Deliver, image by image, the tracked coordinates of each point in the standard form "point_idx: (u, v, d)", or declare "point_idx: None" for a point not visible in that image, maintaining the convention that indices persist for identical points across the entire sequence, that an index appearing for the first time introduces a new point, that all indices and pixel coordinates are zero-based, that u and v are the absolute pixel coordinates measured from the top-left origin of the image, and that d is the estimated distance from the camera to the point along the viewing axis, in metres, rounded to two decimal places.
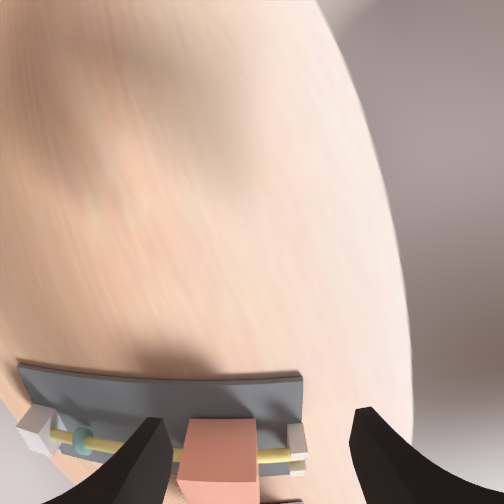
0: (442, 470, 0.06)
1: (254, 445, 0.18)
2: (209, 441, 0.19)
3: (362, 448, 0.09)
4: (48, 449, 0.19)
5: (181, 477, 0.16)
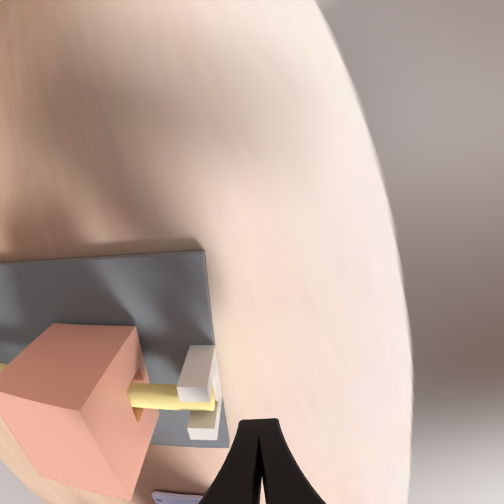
0: (318, 501, 0.06)
1: (111, 358, 0.11)
2: (56, 348, 0.11)
3: (261, 460, 0.09)
4: None
5: None
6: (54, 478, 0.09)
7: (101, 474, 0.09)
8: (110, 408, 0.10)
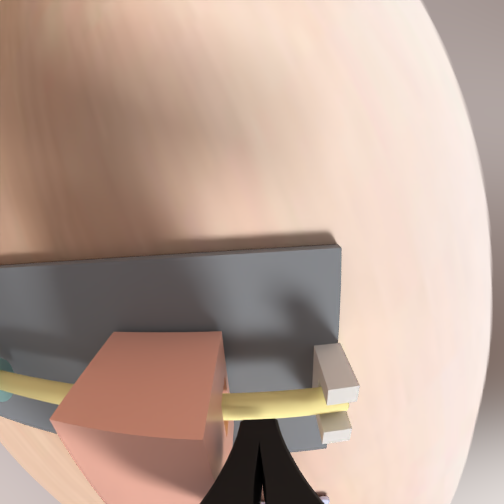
0: (317, 501, 0.06)
1: (212, 370, 0.10)
2: (131, 362, 0.11)
3: (260, 460, 0.09)
4: None
5: (59, 416, 0.07)
6: None
7: None
8: (215, 427, 0.09)
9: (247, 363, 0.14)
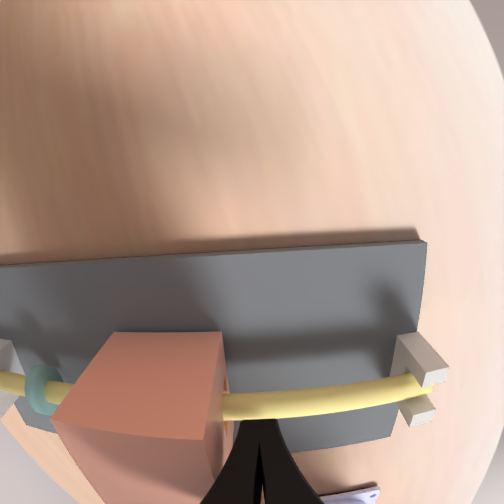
0: (317, 501, 0.06)
1: (212, 370, 0.10)
2: (132, 362, 0.11)
3: (260, 460, 0.09)
4: None
5: (59, 416, 0.07)
6: None
7: None
8: (216, 428, 0.09)
9: (336, 356, 0.14)
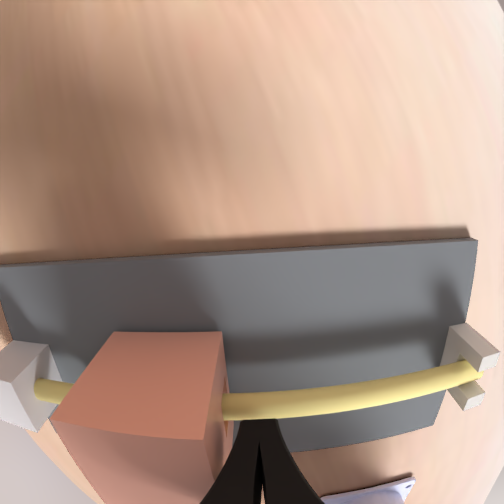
0: (317, 501, 0.06)
1: (212, 370, 0.10)
2: (132, 362, 0.11)
3: (260, 460, 0.09)
4: (29, 416, 0.11)
5: (59, 416, 0.07)
6: None
7: None
8: (215, 428, 0.09)
9: (397, 347, 0.14)
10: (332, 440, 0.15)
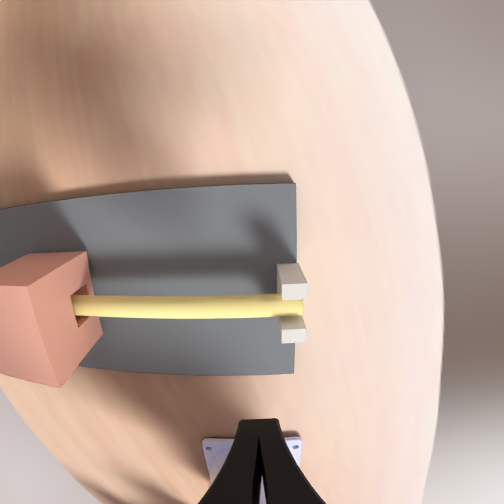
0: (318, 501, 0.06)
1: (61, 264, 0.14)
2: (26, 263, 0.15)
3: (261, 460, 0.09)
4: None
5: None
6: (8, 372, 0.13)
7: (39, 356, 0.12)
8: (53, 300, 0.13)
9: (223, 277, 0.18)
10: (187, 366, 0.19)
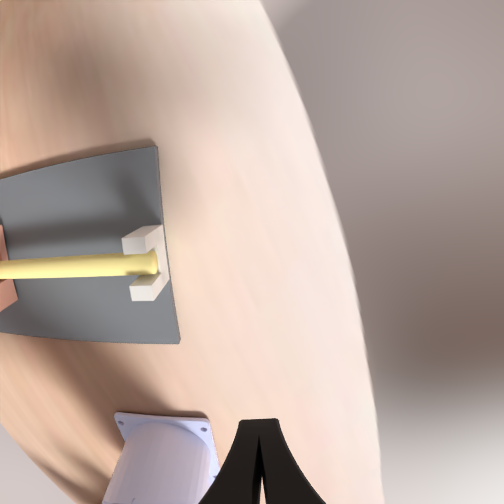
0: (318, 501, 0.06)
1: None
2: None
3: (261, 460, 0.09)
4: None
5: None
6: None
7: None
8: None
9: (99, 242, 0.17)
10: (83, 331, 0.19)
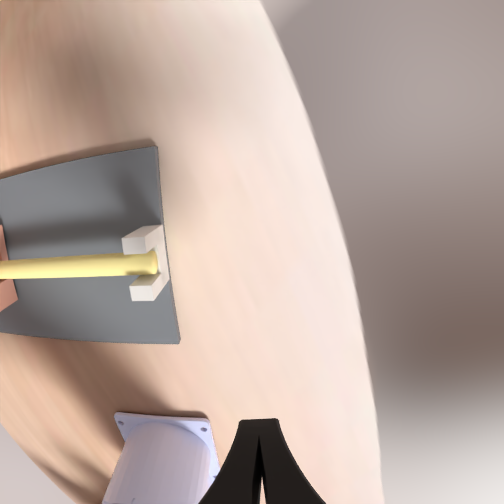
0: (318, 501, 0.06)
1: None
2: None
3: (261, 460, 0.09)
4: None
5: None
6: None
7: None
8: None
9: (99, 242, 0.17)
10: (83, 331, 0.19)
